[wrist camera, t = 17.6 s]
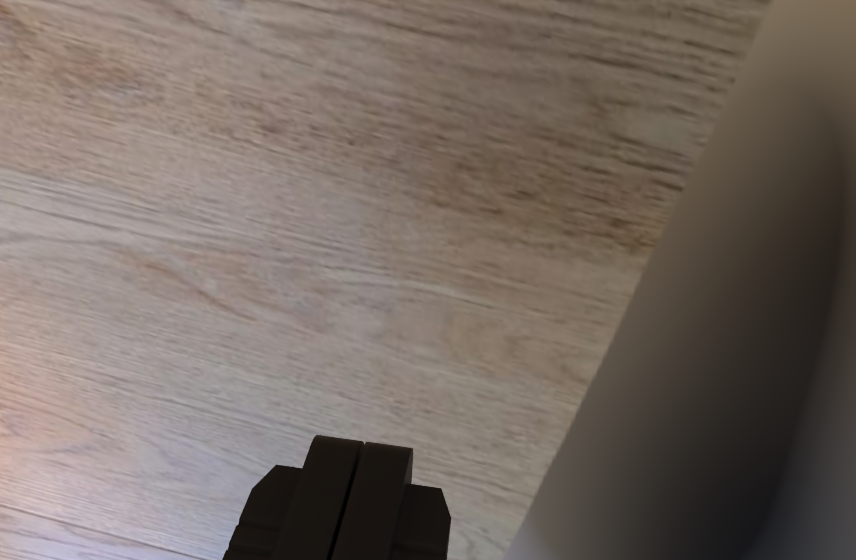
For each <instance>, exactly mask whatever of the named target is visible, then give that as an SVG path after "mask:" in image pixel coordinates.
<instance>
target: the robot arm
mask: <svg viewBox="0 0 856 560" xmlns="http://www.w3.org/2000/svg"><path fill="white" fill-rule="evenodd" d="M412 464H413V448H408V447H401V446H393V445H386V444H379V443H372V442H366V443H365V445H364V442H363V441H356V440H349V439H342V438H335V437H328V436H321V435H316V436H315V437H314V439H313V441H312V443H311V446H310V449H309V452H308V454H307V457H306V460H305V463H304V465H303V468H295V467H289V466H282V465H276V466H275V467H274V468H273V469H272V470H271V471H270V472H269V473H268V474H267V475H266V476H265V477H264V478H262V479H261V480H260V481H259V482H258V483H257V484H256V485H255V486H254V487H253V488H252V490H251V492H250V495H249V497H248V500H247V502H246V504H245V507H244V509H243V512H242V514H241V516H240V519H239V524H238V525H237V526H236V528H235V531H234V533H233V535H232V538H231V540H230V543H229V548H228V550H226V552H225V554H224V557H223V559H222V560H447V552H448V543H449V533H450V524H451V517H450V513H449V510H448V507H447V504H446V501H445V498H444V495H443V492H442V489H441V488H435V487H428V486H421V485H414V484H411V480H412Z"/></svg>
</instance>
